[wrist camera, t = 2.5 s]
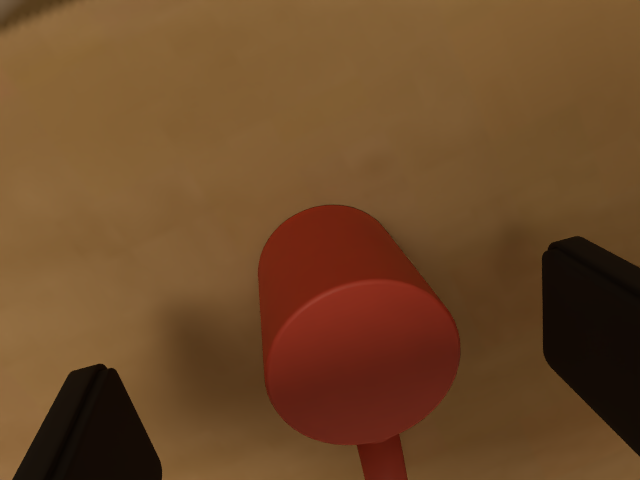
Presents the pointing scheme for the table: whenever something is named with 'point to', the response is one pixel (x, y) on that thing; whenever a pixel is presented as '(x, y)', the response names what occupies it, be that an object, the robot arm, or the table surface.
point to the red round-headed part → (352, 335)
